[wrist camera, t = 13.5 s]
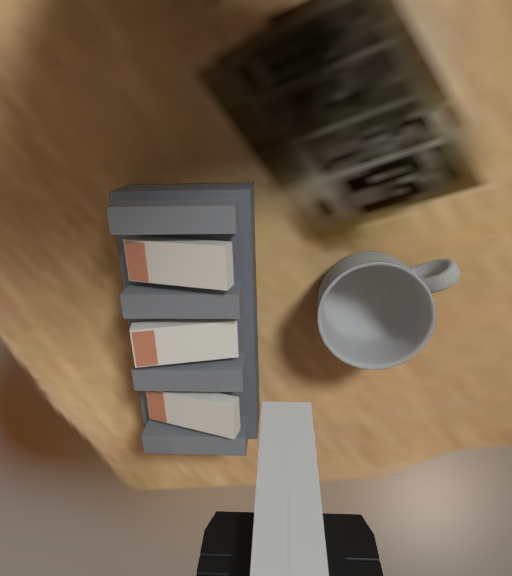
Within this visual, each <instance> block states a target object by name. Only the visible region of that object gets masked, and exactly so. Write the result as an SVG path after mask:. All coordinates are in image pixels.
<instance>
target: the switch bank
mask: <svg viewBox="0 0 512 576" xmlns="http://www.w3.org/2000/svg"><path fill="white" fill-rule="evenodd" d="M109 195H110V202H111V205H110V206H108V207H106V211H107V217H108V224H109V230H110V235H116V242H117V249H118V255H119V262H120V269H121V275H122V282H123V289H124V291H123V292H122V293H121V294H120V301H121V308H122V314H123V319H128V324H129V330H130V327H131V323H136V322H148V321H159V320H171V319H237V331H238V353H239V357H236V358H226V359H216V360H206V361H197V362H187V363H177V364H167V365H157V366H147V367H137V368H135V365H134V366H133V368H132V370H131V372H132V379H133V385H134V391H139V395H140V402H141V409H142V415H143V422H144V430H143V433H142V435H141V437H142V444H143V450H144V453H148V454H192V455H235V456H246V451H247V442H248V439H257V437H258V424H259V412H260V409H259V371H258V334H257V296H256V259H255V221H254V184H253V182H252V183H198V184H144V185H126V186H123V187H121V188H118V189H115V190H113V191H110V192H109ZM133 235H135V236H152V237H168V238H184V239H200V240H216V241H232V251H233V272H234V285H233V286H232V287H231V288H230V289H229V290H228V291H224V290H214V289H204V288H194V287H184V286H174V285H165V284H155V283H145V282H135V281H129V277H128V270H127V264H126V257H125V250H124V243H123V239H126V238H128V237H130V236H133ZM146 391H198V392H217V393H222V394H227V395H232V396H237V397H239V408H240V431H239V433H238V434H237V436H236V438H235V439H231V438H226V437H222V436H218V435H214V434H210V433H206V432H202V431H198V430H194V429H189V428H185V427H181V426H177V425H173V424H169V423H165V422H161V421H157V420H153V419H150V418H149V411H148V404H147V397H146Z"/></svg>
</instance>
